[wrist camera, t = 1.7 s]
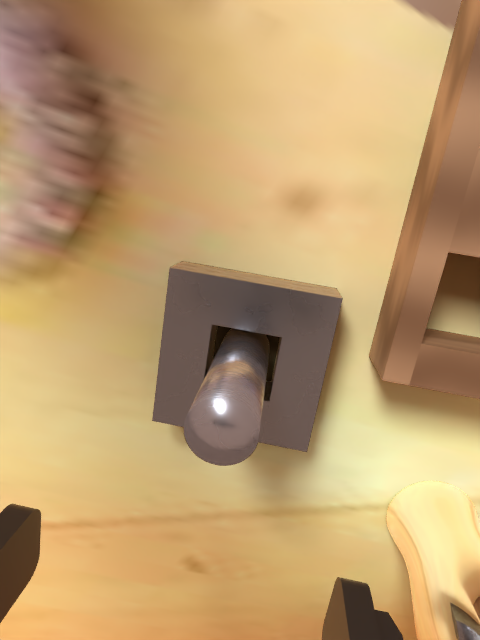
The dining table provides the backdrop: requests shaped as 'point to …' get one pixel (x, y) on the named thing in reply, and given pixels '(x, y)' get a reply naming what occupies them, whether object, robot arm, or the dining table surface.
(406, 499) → the beer glass
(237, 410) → the round metal peg
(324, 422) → the dining table surface
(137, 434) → the dining table surface
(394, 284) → the rack
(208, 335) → the socket block
